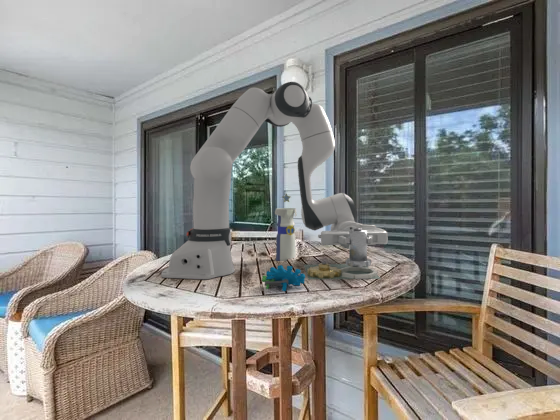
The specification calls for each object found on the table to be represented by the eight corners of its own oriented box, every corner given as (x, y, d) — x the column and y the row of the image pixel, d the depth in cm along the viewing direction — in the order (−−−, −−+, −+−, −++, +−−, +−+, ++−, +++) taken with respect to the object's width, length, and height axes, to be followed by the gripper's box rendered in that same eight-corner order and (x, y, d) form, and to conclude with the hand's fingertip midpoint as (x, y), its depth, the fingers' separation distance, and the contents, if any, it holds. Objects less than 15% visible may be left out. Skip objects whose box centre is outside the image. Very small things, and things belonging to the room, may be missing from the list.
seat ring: (343, 278, 91) (343, 275, 91) (337, 270, 101) (337, 267, 101) (380, 278, 91) (380, 274, 91) (370, 269, 101) (370, 266, 101)
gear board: (308, 283, 91) (308, 279, 91) (303, 268, 110) (303, 264, 110) (381, 282, 91) (381, 278, 91) (364, 267, 110) (364, 263, 110)
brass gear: (308, 278, 91) (308, 265, 91) (306, 270, 101) (306, 259, 101) (343, 278, 91) (343, 265, 91) (337, 270, 101) (337, 258, 101)
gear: (309, 282, 86) (299, 261, 79) (308, 303, 82) (297, 283, 75) (269, 285, 89) (256, 265, 82) (267, 305, 85) (253, 286, 78)
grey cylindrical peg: (348, 267, 92) (347, 230, 92) (343, 262, 100) (343, 227, 99) (374, 267, 92) (373, 229, 92) (367, 262, 99) (367, 227, 99)
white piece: (302, 260, 123) (301, 193, 122) (282, 262, 119) (281, 193, 118) (290, 256, 130) (289, 193, 129) (271, 259, 126) (270, 193, 125)
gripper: (317, 225, 108) (322, 230, 95) (379, 224, 108) (393, 229, 94) (317, 245, 109) (322, 252, 95) (379, 243, 109) (393, 251, 95)
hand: (358, 241), depth 95 cm, fingers closed on grey cylindrical peg, 5 cm apart
